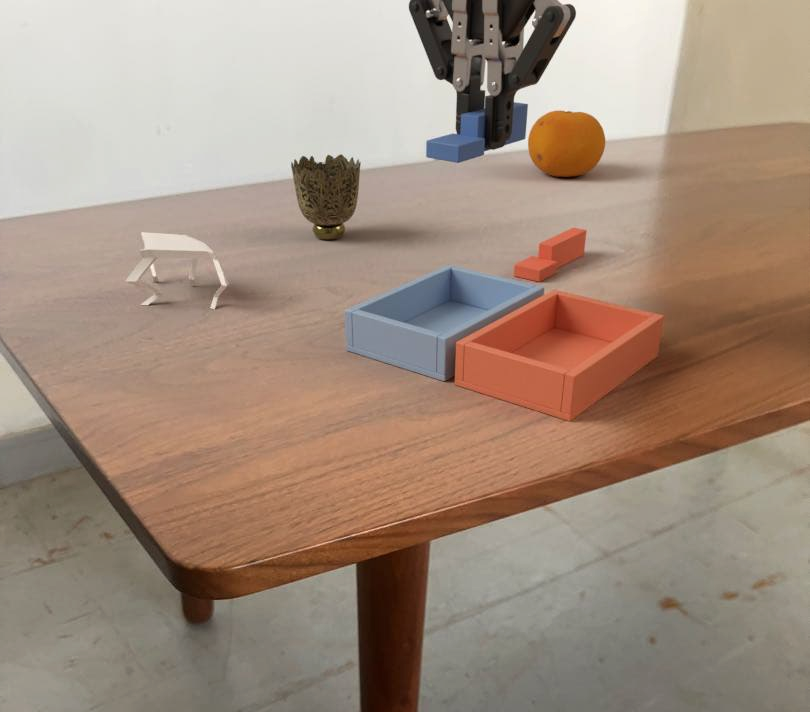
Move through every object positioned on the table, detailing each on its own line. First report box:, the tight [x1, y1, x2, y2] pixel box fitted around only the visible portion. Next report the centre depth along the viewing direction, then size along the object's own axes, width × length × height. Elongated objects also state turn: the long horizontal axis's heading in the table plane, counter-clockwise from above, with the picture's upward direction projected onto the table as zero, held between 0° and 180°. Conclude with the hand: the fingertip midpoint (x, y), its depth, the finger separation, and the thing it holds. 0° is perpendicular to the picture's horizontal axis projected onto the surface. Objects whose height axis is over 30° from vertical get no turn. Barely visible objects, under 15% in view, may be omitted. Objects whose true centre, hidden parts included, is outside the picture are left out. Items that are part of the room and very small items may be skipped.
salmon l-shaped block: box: [513, 227, 587, 283], centre depth 93 cm, size 10×3×3 cm, turn 142°
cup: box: [290, 154, 361, 241], centre depth 100 cm, size 8×7×8 cm
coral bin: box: [454, 289, 665, 422], centre depth 72 cm, size 10×15×4 cm
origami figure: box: [124, 231, 230, 310], centre depth 85 cm, size 12×8×5 cm
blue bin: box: [344, 264, 545, 382], centre depth 77 cm, size 10×15×4 cm
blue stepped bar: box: [425, 101, 529, 164], centre depth 70 cm, size 10×3×3 cm, turn 142°
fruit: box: [527, 110, 606, 178], centre depth 125 cm, size 10×10×8 cm
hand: (482, 144), depth 71 cm, fingers closed on blue stepped bar, 1 cm apart
